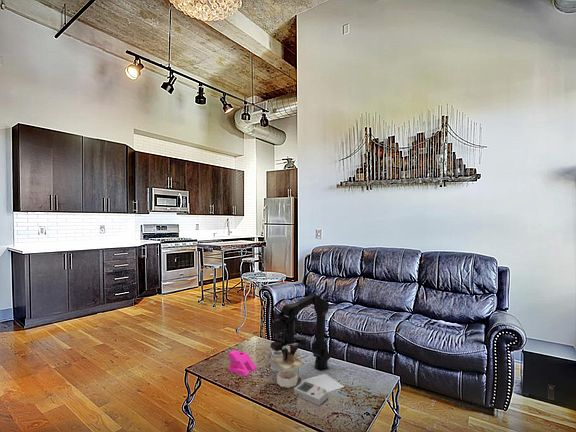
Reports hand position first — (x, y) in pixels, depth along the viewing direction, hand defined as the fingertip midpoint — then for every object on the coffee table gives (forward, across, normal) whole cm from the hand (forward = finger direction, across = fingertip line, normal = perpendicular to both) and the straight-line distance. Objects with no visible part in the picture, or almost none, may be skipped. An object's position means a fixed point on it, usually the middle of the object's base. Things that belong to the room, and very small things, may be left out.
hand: (288, 360), depth 169 cm
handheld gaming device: (+12, -3, +17) cm, 21 cm away
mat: (+12, -15, +10) cm, 21 cm away
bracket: (+12, +14, -25) cm, 31 cm away
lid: (+1, 0, 0) cm, 1 cm away
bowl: (+12, 0, 0) cm, 12 cm away
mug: (+12, -2, -17) cm, 21 cm away
